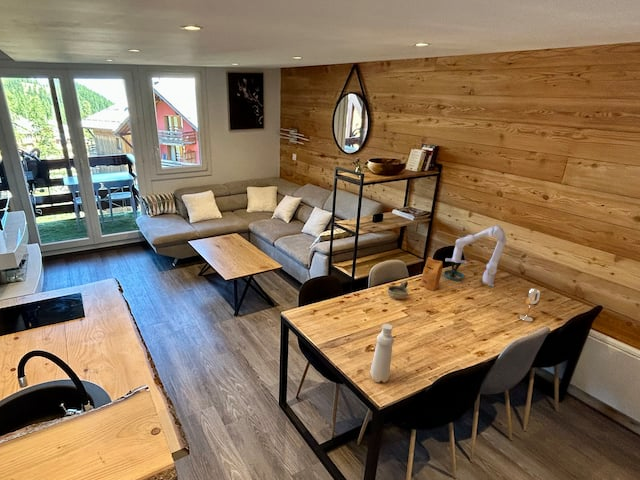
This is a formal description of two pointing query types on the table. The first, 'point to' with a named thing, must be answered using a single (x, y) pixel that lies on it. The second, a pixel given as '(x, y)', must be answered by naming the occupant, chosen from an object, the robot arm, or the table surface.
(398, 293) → the bowl
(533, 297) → the wineglass
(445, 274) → the teal ring
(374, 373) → the bottle
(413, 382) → the table surface
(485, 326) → the table surface
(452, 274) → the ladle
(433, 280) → the coffee package
